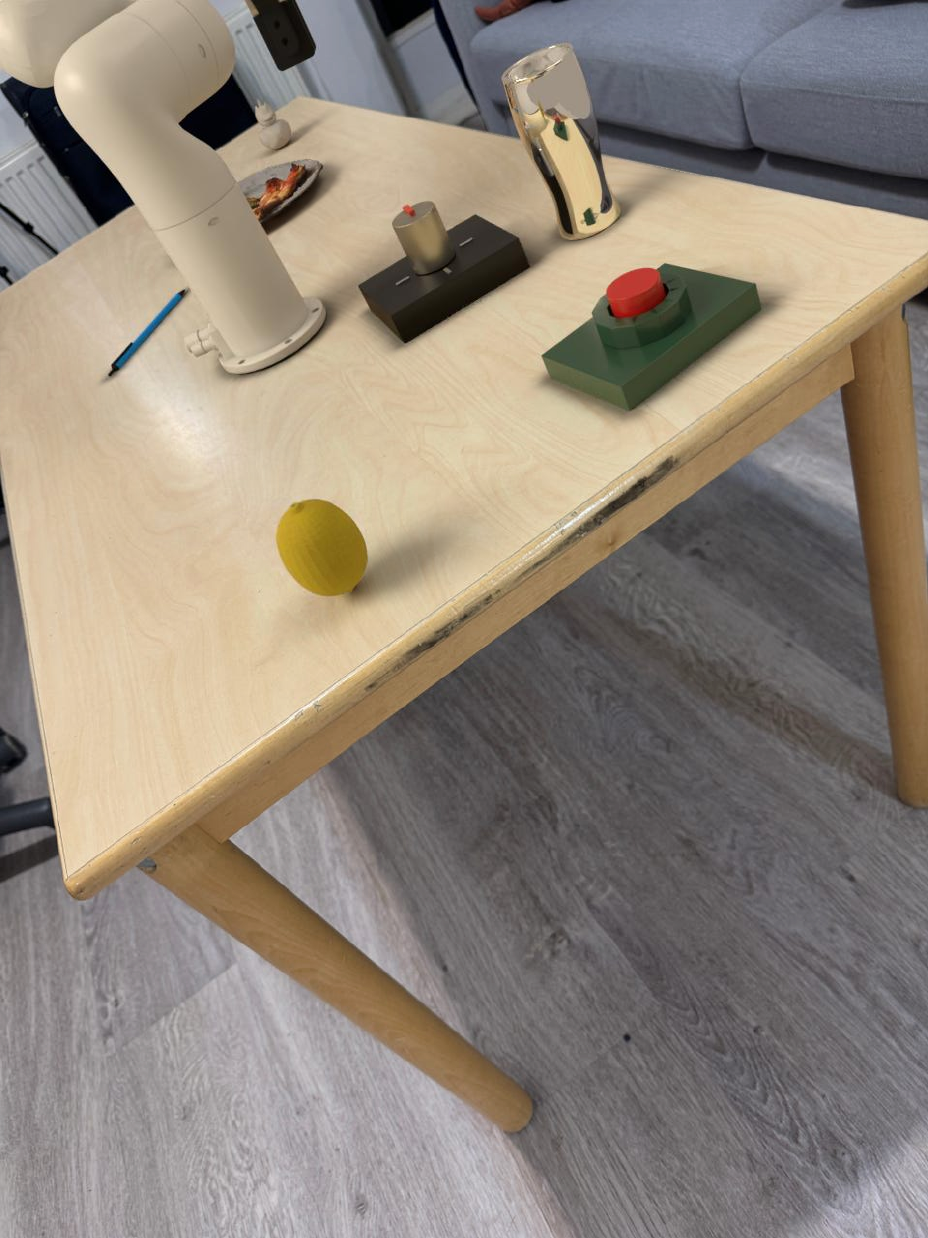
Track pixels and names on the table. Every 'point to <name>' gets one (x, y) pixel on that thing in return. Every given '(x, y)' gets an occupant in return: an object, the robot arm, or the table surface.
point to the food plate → (278, 186)
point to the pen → (144, 334)
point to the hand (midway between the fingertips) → (298, 60)
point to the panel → (445, 279)
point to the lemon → (321, 547)
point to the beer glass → (562, 138)
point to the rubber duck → (272, 127)
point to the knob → (423, 237)
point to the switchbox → (651, 337)
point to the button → (635, 292)
